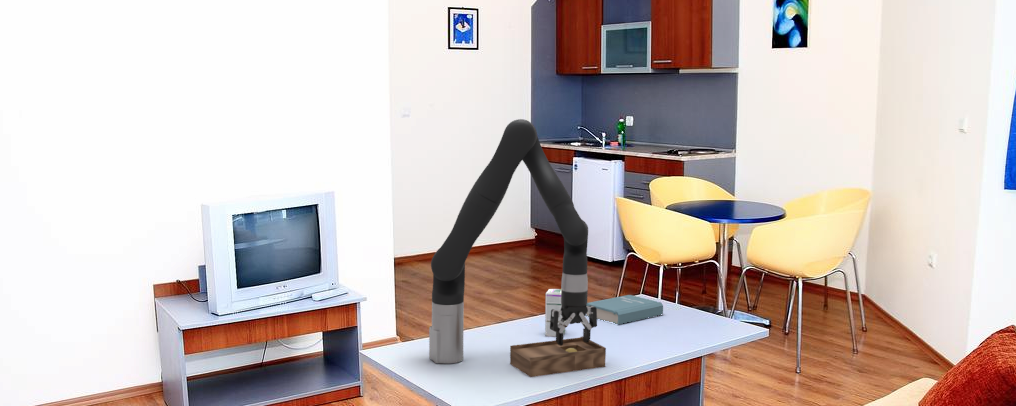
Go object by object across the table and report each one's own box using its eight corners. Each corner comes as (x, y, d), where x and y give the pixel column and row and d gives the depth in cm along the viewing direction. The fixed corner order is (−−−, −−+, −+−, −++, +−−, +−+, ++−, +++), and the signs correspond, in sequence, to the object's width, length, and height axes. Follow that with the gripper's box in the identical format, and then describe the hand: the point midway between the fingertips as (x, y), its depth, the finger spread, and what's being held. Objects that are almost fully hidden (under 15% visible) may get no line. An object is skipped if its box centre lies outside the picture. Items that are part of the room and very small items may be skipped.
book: (629, 308, 328) (629, 294, 328) (662, 316, 316) (663, 303, 315) (585, 317, 314) (585, 303, 313) (618, 326, 302) (619, 312, 301)
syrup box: (562, 337, 286) (563, 293, 284) (544, 336, 287) (545, 292, 285) (565, 332, 291) (566, 289, 289) (547, 331, 292) (548, 288, 291)
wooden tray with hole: (530, 377, 245) (530, 357, 244) (510, 363, 257) (510, 345, 256) (605, 366, 255) (605, 347, 255) (582, 354, 267) (582, 336, 266)
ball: (583, 351, 257) (580, 366, 257) (575, 347, 261) (572, 362, 261) (570, 349, 255) (566, 365, 255) (562, 345, 259) (559, 360, 259)
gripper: (558, 293, 249) (557, 349, 251) (602, 289, 255) (601, 344, 257) (546, 287, 256) (545, 342, 258) (589, 283, 262) (587, 337, 264)
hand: (573, 343), depth 257 cm, fingers open, 8 cm apart
